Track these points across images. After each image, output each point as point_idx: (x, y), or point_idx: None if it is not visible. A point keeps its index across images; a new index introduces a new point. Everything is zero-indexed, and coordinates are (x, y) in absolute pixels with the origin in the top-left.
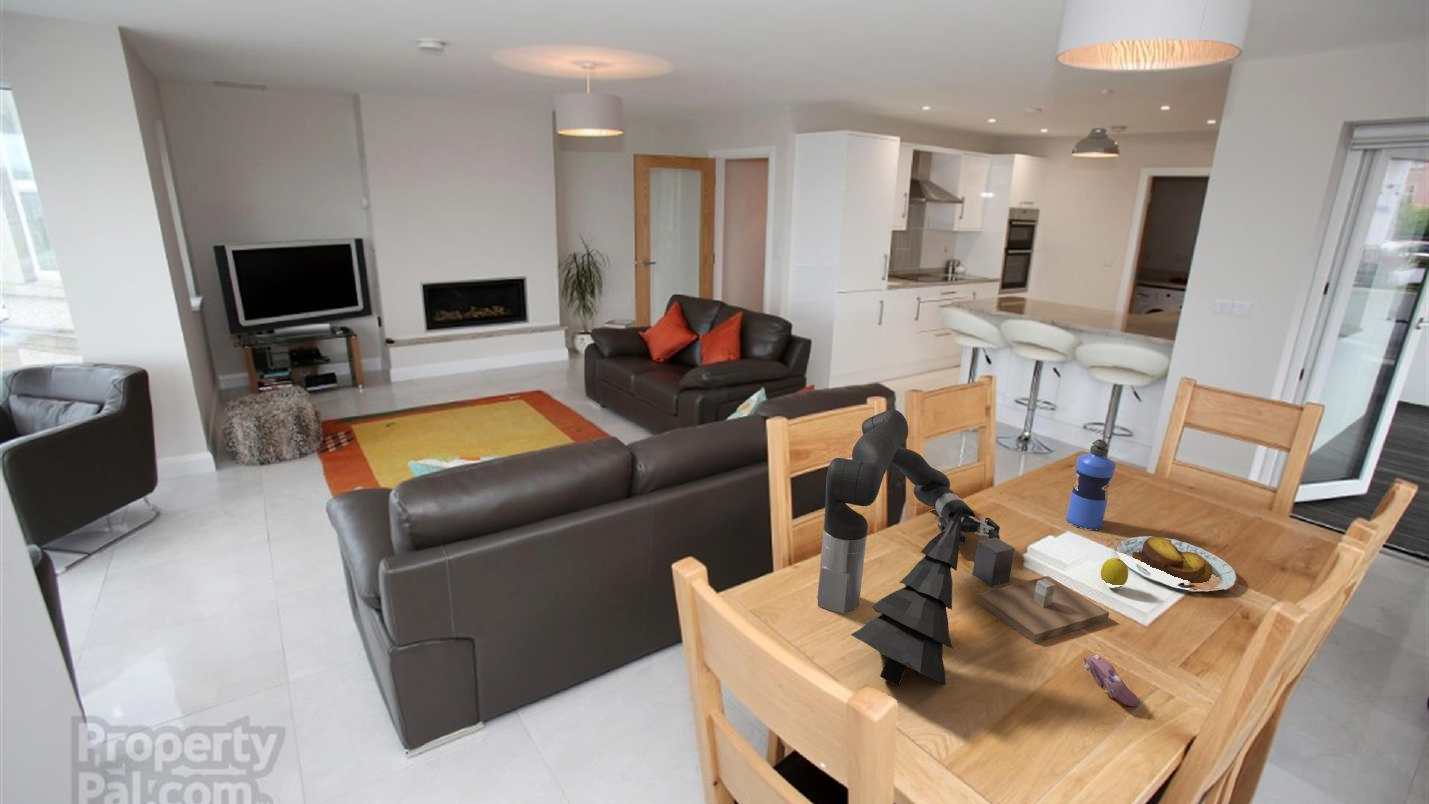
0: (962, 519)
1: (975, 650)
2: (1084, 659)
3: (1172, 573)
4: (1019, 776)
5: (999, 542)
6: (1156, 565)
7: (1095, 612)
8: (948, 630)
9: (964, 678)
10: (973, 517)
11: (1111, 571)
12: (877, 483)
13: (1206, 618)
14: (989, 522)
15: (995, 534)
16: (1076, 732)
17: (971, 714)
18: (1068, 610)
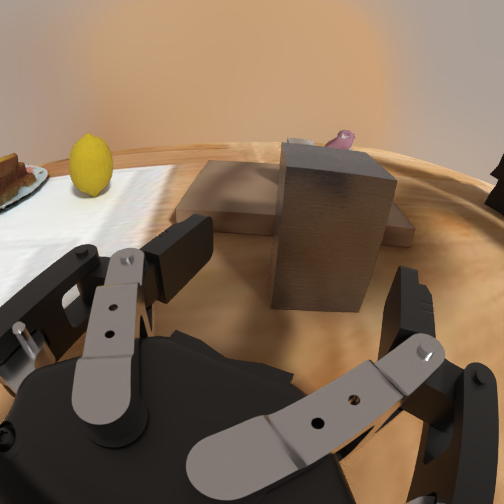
0: (270, 419)
1: (448, 207)
2: (349, 146)
3: (23, 172)
4: (448, 170)
5: (306, 157)
6: (9, 180)
7: (229, 163)
8: (500, 161)
9: (467, 199)
10: (86, 378)
11: (109, 151)
12: None
13: None
14: (37, 309)
15: (196, 221)
16: (395, 162)
17: (467, 188)
18: (267, 171)
